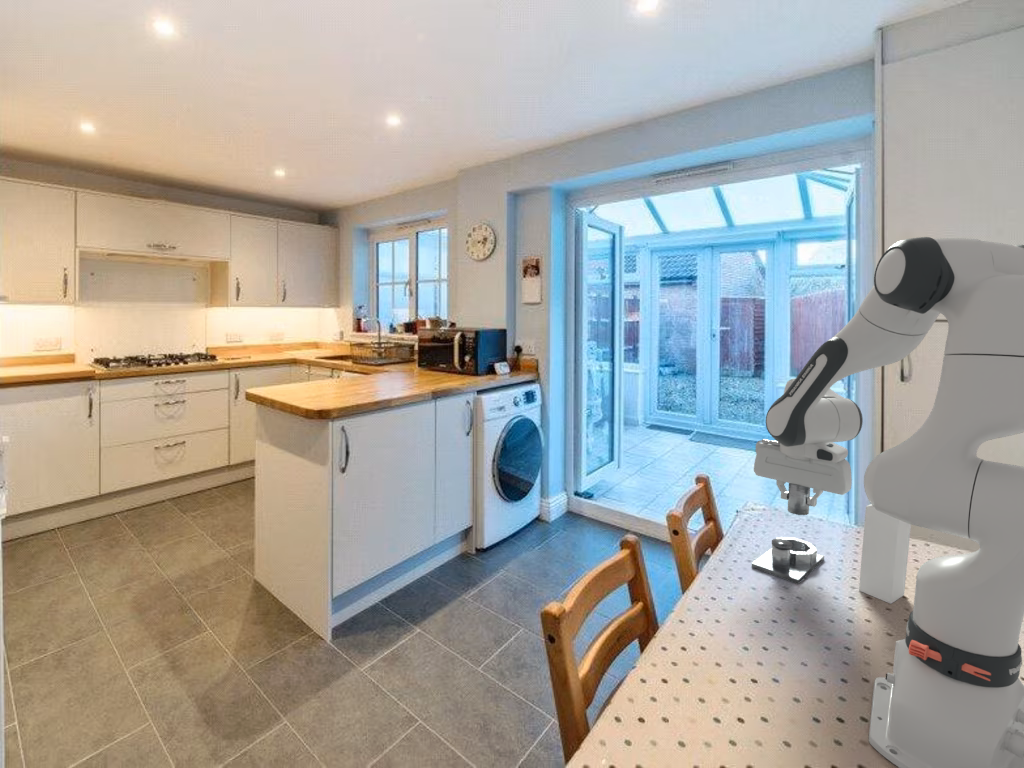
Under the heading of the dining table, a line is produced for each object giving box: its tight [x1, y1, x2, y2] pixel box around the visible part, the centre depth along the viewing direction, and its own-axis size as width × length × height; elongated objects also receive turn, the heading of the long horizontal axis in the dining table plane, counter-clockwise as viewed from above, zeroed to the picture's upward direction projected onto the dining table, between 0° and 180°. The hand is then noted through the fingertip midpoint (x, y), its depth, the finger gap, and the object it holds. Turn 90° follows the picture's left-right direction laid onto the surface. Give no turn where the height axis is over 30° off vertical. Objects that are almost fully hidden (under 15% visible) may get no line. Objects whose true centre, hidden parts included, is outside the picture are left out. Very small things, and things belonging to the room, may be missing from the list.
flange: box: [751, 536, 825, 585], centre depth 117 cm, size 16×10×7 cm, turn 130°
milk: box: [858, 503, 912, 605], centre depth 104 cm, size 6×6×22 cm
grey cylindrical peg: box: [787, 483, 811, 516], centre depth 118 cm, size 4×4×7 cm
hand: (798, 502), depth 118 cm, fingers closed on grey cylindrical peg, 4 cm apart
